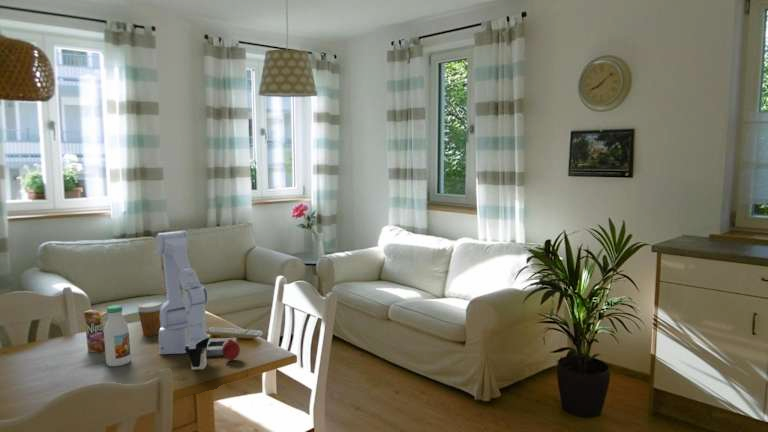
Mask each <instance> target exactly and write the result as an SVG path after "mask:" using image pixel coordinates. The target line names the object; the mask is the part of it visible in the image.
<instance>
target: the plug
mask: <svg viewBox="0 0 768 432" xmlns="http://www.w3.org/2000/svg"><path fill="white" fill-rule="evenodd" d="M207 361H208V360H207V357H206V348H203V349H202V352H201V359H200V366H199V367H193V366H192V363H191V362H190V363H191V364H190V365H191V370H204V369H205V368H206V367H207V364H208V363H207Z"/></svg>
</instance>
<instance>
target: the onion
mask: <svg viewBox="0 0 768 432" xmlns="http://www.w3.org/2000/svg"><path fill="white" fill-rule="evenodd" d="M228 338H229V340H228V342H226V343H225V345H224V346H223V348H222V353H223V355H224V356H223V357H224V358H226V360H228V361H230V362H231V361H234V360H235V359H236V358H237V357H238V356H239V354H240V353H241V351H240V349H241V348H240V346H239V345H238V343H237V341H236V342H235V341H233V340H232V339H231V338H232V337H228Z"/></svg>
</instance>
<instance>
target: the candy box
mask: <svg viewBox="0 0 768 432" xmlns="http://www.w3.org/2000/svg"><path fill="white" fill-rule="evenodd" d="M107 313H108V312H107V310H102V309H101V310H100V309H95V308H92V309H89V310H86V311H84V312H83V315H84V325H85V327H84V328H85V333H86V346H87V352H88V351H91V352H90V353H95V352H96V354H101V353H102V355H106V354H105V340H104V329H105V326H106V323H107V321H108V314H107Z"/></svg>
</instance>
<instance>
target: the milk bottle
mask: <svg viewBox="0 0 768 432" xmlns="http://www.w3.org/2000/svg"><path fill="white" fill-rule="evenodd" d="M106 309H107V310H106V311H107V312H108V313H107V314H108V321H107V323H106V326H105V329H104V340H105V354H104V355H105V362H106V365H107V366H109V367H120V366H124V365H127V364H129V363H130V362H131V359H132V358H131V343H130V332H129V331H130V330H129V327H128V324H127V321H126V320H125V319H124V316H123V306H122V305H120V304H113V305H110V306H107V308H106Z"/></svg>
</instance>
